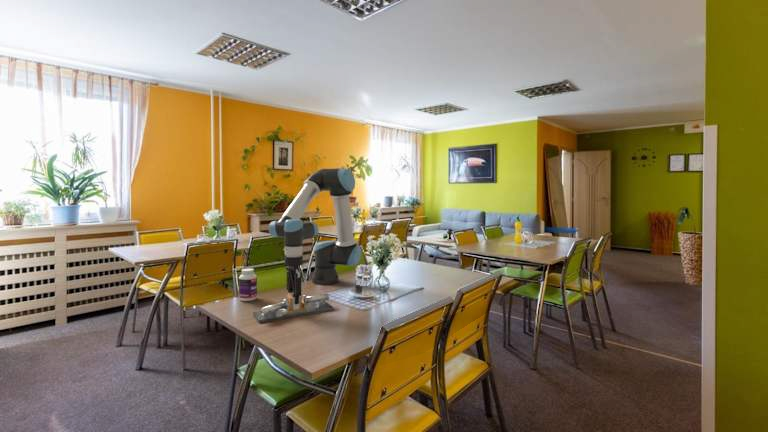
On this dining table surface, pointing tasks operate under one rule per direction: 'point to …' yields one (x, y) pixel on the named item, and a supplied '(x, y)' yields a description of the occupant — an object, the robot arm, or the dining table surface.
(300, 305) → the block
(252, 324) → the dining table surface
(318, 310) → the board
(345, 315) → the dining table surface
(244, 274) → the pill bottle
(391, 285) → the dining table surface
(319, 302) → the shaft
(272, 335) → the dining table surface
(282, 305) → the shaft
